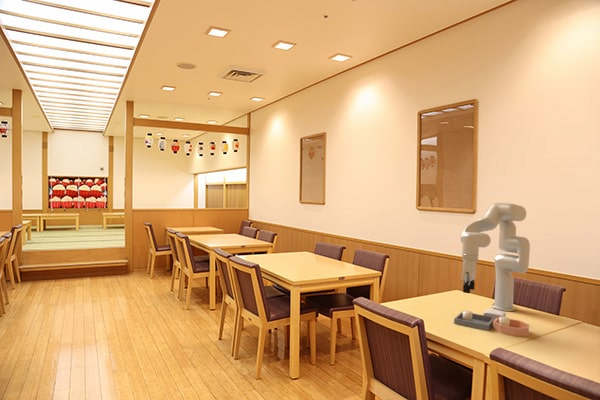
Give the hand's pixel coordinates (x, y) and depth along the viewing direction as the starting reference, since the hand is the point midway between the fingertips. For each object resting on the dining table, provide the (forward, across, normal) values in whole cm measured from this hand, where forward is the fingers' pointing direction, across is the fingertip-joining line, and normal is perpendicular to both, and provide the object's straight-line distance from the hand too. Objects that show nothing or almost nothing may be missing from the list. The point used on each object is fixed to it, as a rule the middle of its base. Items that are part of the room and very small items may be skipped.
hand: (468, 291), depth 206 cm
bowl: (+16, 0, +20) cm, 26 cm away
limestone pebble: (+15, 0, +17) cm, 23 cm away
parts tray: (+16, 0, +3) cm, 17 cm away
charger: (+17, -16, +10) cm, 26 cm away
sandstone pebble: (+16, 0, 0) cm, 16 cm away
